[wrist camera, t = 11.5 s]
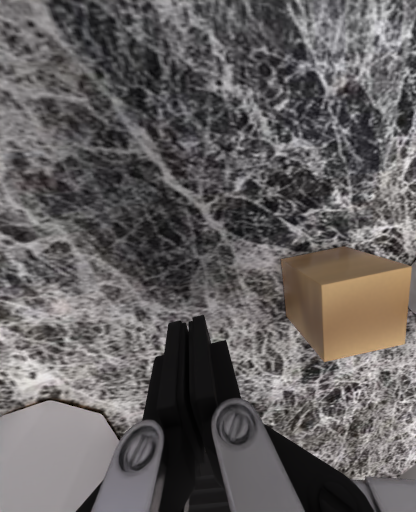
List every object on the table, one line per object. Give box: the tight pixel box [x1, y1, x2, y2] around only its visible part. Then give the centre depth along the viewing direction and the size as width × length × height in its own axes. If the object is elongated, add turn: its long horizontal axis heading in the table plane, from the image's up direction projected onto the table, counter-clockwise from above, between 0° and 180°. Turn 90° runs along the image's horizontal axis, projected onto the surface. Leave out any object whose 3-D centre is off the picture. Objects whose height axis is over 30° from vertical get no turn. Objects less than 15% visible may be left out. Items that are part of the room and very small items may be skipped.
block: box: [281, 246, 412, 362], centre depth 14 cm, size 5×5×5 cm
